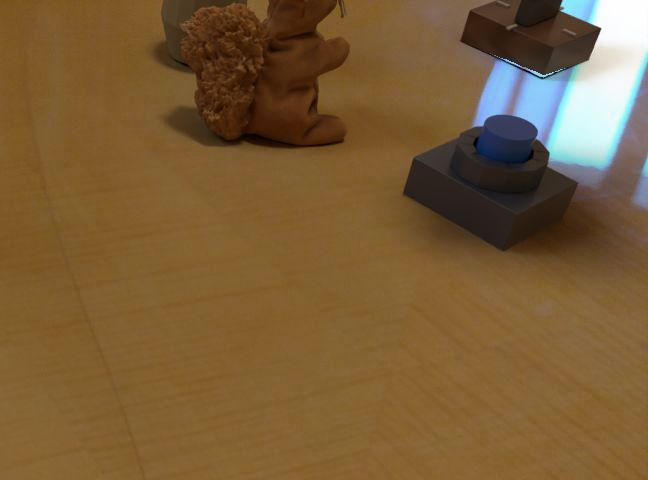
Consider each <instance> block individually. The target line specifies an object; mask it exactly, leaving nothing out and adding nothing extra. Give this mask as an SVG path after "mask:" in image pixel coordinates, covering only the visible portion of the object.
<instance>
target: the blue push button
mask: <svg viewBox="0 0 648 480" xmlns="http://www.w3.org/2000/svg"><path fill="white" fill-rule="evenodd" d="M482 126H483V128H482V131H481V133H480V136H479V139H478V142H477V145H476V150H477V151H478V152H479V153H480V154H482V155H484V156H486V157H487V158H489V159H491V160H495V161H499V162H504V163H524V162H526V161H527V160H528V158H529V155H530V153H531V150H532V147H533V145H534V142H535V140H536V139H537V137H538V135H539V131H538V128H537V126H536V125H535V124H533V122H531V121H529V120H528V119H525V118H523V117H519V116H516V115H511V114H493V115H490V116H488V117H486V118H485V120H484V122H483V125H482Z"/></svg>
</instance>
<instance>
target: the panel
mask: <svg viewBox="0 0 648 480" xmlns="http://www.w3.org/2000/svg"><path fill="white" fill-rule="evenodd" d="M520 2H521V0H494V1H491V2H488V3H486V4H483V5H479V6H477V7H474V8H471V9H470V10H469V11H468V15H467V17H466V21H465V25H464V27H463V31H462V33H461V37H460V42H462V43H464V44H466V45H468V44H469V45H468V46H471V47H473V46H474V47H473V48H475V47H476V48H475V49H477V48H479V49H480V50H479V49H478V50H479V51H481V50H483V51H486V52H487V53H486V52H485V53H486V54H488V53H491V54H493V55H496V56H498V57H500V58H503V59H507V60H509V61H511V62H514V63H516V64H518V65H520V66H522V67H526V68H528V69H530V70H533V71H536V72H538V73H540V74H542V75H546V74H549V73H552V72H555V71H558V70H560V69H564V68H567V67H569V68H571V67H570V66H572V67H574V66H576V65H578V64H582V63H583V62H586V61H588V60H590V59H591V56H592V54H593V51H594V48H595V46H596V44H597V41H598V38H599V36H600V34H601V31H602V27H600V26H598V25H595V24H593V23H590V22H588V21H586V20H583V19H581V18H578V17H577V16H574V15H571V14H569V13H567V12H564V11H563V10H565V7H564V6H560V9H559V12H558V14H557V16H554V17H552V18H549V19H546V20H544V21H541V22H539V23H536V24H533V25H531V26H528V27H527V26H524V25H522V24H520V23H517V22H515V21H514V20H515V17H516V14H517V11H518V8H519V5H520ZM483 51H482V52H483ZM573 65H574V66H573ZM567 69H568V68H567Z"/></svg>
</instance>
